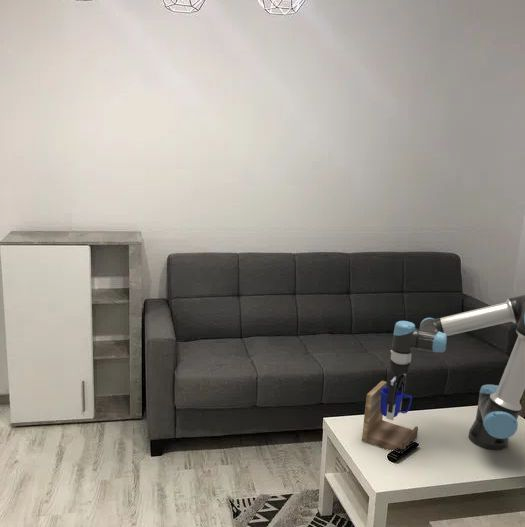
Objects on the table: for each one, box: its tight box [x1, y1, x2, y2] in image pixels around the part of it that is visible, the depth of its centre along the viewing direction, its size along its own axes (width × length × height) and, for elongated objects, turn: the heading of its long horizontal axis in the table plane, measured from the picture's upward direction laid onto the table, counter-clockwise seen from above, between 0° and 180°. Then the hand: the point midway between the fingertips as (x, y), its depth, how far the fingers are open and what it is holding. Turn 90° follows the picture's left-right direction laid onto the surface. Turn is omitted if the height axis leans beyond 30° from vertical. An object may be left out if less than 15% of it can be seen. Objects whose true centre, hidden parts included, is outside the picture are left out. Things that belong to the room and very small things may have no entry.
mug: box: [380, 386, 413, 418], centre depth 240 cm, size 8×12×10 cm
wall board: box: [361, 380, 388, 443], centre depth 245 cm, size 2×16×20 cm, turn 148°
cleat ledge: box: [365, 419, 419, 452], centre depth 242 cm, size 15×16×5 cm
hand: (393, 415), depth 241 cm, fingers closed on mug, 7 cm apart
